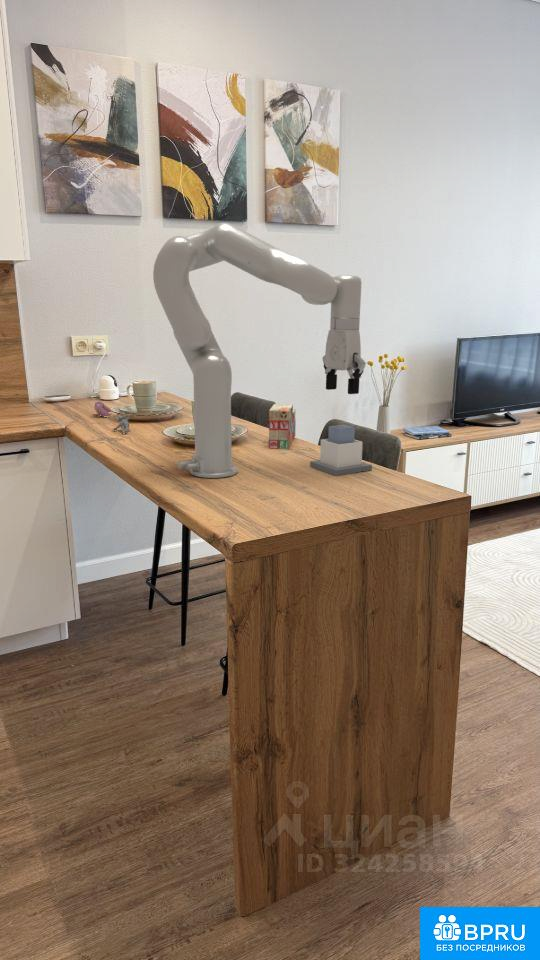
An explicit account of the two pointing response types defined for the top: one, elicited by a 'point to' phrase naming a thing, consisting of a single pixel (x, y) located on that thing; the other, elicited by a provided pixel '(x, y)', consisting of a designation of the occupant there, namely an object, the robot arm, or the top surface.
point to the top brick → (341, 434)
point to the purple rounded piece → (102, 409)
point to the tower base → (340, 470)
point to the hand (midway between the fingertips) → (341, 391)
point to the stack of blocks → (281, 426)
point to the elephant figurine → (123, 423)
